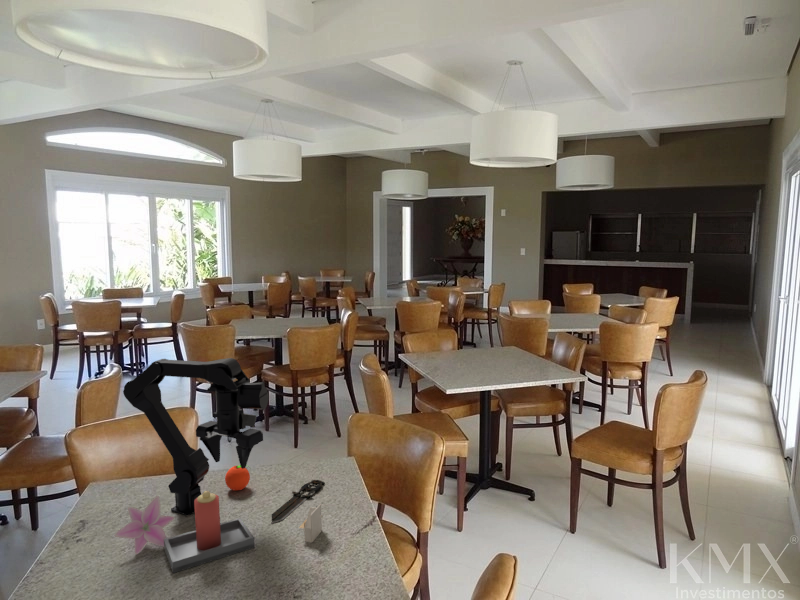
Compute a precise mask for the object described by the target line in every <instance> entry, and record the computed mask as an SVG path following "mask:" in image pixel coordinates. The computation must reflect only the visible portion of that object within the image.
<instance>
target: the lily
mask: <svg viewBox="0 0 800 600" xmlns="http://www.w3.org/2000/svg"><path fill="white" fill-rule="evenodd" d="M161 511H162V510H161V499H160V496H159V495H156V496H155V497H154V498H153V499H152V500H150V502H149V503H148V504H147V505H146V506H145V507H144V509H143V510H140V509H138V508H136V507H132V506H128V507H127V512H128V515H129V518H130V520H131V521H129V522H127V523H126V524H125V525H123V526H122V527H120V529H118V530H117V531H116V532H115V533H114V535H113V536H114V538H119V539H126V540H127V539H129V540H134V542H133V543H134V544H133V545H134V554H135V555H139V554H140V553H141V552H142V550H143V549H144V548H145V546H146V545H147V544H148V543H151V544H153V545H155V546H158V547H161V548H164V539H166V538H167V534H166V531H165V530H164V528H165V527H166V526H168V525H169V524H170V523H172V522H173V521H174V520H175V516H171V515H161V513H162V512H161Z"/></svg>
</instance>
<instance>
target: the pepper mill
mask: <svg viewBox="0 0 800 600" xmlns="http://www.w3.org/2000/svg"><path fill="white" fill-rule="evenodd" d="M194 505H195V512H194V517H195V518H194V519H195V520H194V521H195V522H194V523H195V530H196V541H197V548H198V549H199V550H208V549H211V548H215V547H218V546H219V545H220V544H221V530H220V523H221V516H220V515H221V514H220V497H219V495H217V494H215V493H213V492H210V491H209V490H205V491H203V492H202V493H201V495H200V496H198V498H196V499H195V500H194Z"/></svg>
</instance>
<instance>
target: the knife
mask: <svg viewBox="0 0 800 600" xmlns="http://www.w3.org/2000/svg"><path fill="white" fill-rule="evenodd" d="M312 483H313V484H312ZM317 483H318V484H317ZM324 484H326V483H325V481H322V480H319V479H312V480H311V481H309V482H306V483H305V484H304V485H302V486H301V487H300V489H299V490H298V491H292V497H290V498H289V499H288V501H286V502H285V503H283V505H281V506H280V507H278V508H277V509H276V510H275V511H274V512H273V513H271V522H270V524H271V525H272V524H275V523H277V522H282V521H283V520H285V518H287V517H288V516H289V515H290V514H292V512H294V511H295V510H296V509H297V508H299V506H301V504H303V503H304V502H305V501H306V500H309V499H312V498H313V496H314V495H313V493H315V494H316V493H318V492H320V491H321V490H320V489H322V486H325V485H324ZM316 485H317V486H316ZM309 487H310V488H309ZM311 487H312V488H311ZM304 490H305V491H307V492H308V493H307V494H302V493H301V492H302V491H304ZM301 494H302V495H301Z"/></svg>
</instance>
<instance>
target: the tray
mask: <svg viewBox="0 0 800 600" xmlns="http://www.w3.org/2000/svg"><path fill="white" fill-rule="evenodd" d="M220 530H221V544H220V545H219V546H218V547H215V548H211V549H208V550H199V549H198V548H197V541H196V529H195V530H192V531H191V530H190V531H187V532H184V533H181V534H177V535H173V536H170V537H166V539H164V547H163V549H164V552H165V555H166V557H167V560H168V564H169V565H170V568H171V571H172V574H175V573H177V572H181V571H184V570H187V569H191V568H193V567H197V566H200V565H203V564H206V563H209V562H213V561H216V560H219V559H222V558H225V557H229V556H232V555H235V554H238V553H242V552H244V551H247V550H251V549H254V548H255V537H254V535H253V534H252V532H251V531H250V529H249V528H248V527H247V525H246V524H245V522H244V521H243V519H242V518H241V517H238V518H233V519H230V520H228V521H224V522H220Z"/></svg>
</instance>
